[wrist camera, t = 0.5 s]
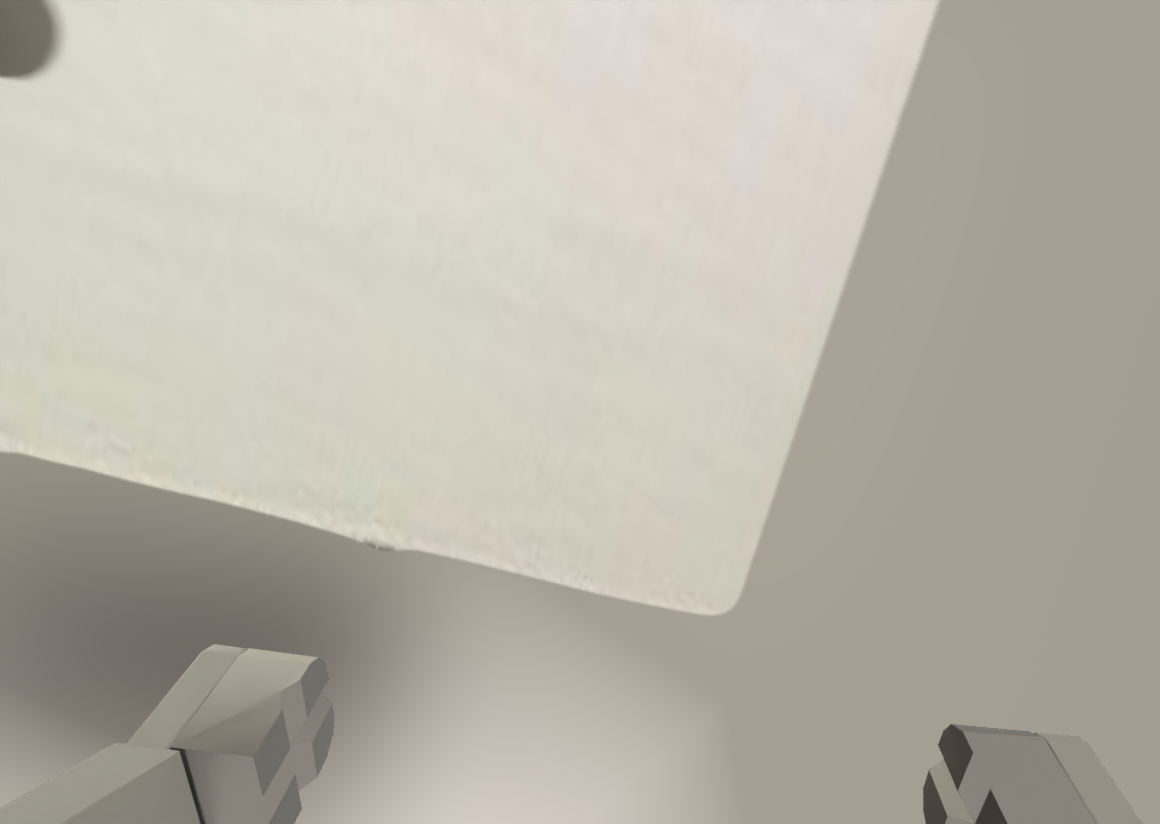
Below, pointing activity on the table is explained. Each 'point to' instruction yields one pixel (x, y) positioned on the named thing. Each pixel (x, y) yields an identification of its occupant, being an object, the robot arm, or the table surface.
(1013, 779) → the robot arm
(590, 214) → the table surface
